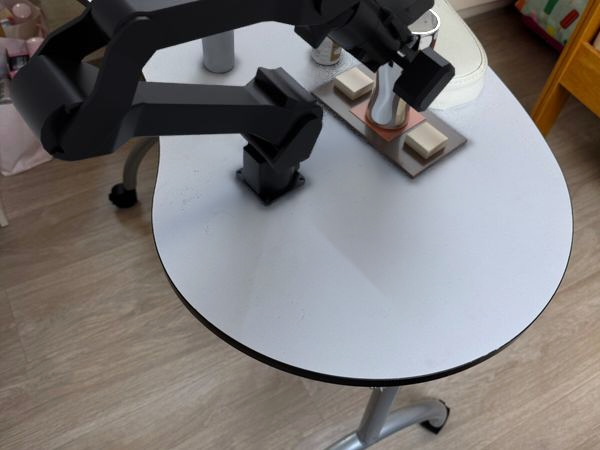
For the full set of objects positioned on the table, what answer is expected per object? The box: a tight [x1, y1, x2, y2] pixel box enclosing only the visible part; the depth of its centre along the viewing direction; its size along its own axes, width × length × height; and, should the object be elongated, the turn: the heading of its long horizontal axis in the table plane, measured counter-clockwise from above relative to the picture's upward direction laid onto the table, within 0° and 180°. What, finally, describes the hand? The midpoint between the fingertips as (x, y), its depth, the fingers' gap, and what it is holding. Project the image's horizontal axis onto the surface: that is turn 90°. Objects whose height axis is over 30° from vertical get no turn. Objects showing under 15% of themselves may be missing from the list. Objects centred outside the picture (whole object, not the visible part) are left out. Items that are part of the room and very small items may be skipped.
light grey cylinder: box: [201, 30, 236, 74], centre depth 82 cm, size 4×4×10 cm
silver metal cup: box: [366, 8, 442, 130], centre depth 75 cm, size 7×7×15 cm
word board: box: [310, 63, 468, 180], centre depth 81 cm, size 11×20×2 cm, turn 40°
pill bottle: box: [311, 37, 343, 66], centre depth 86 cm, size 4×4×8 cm
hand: (405, 69), depth 76 cm, fingers open, 7 cm apart
